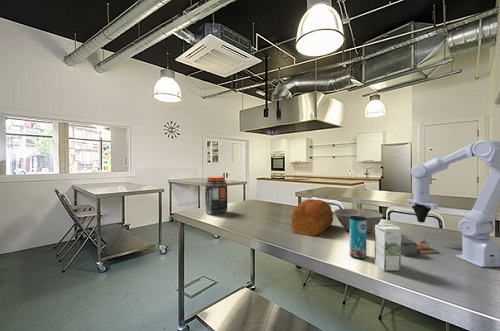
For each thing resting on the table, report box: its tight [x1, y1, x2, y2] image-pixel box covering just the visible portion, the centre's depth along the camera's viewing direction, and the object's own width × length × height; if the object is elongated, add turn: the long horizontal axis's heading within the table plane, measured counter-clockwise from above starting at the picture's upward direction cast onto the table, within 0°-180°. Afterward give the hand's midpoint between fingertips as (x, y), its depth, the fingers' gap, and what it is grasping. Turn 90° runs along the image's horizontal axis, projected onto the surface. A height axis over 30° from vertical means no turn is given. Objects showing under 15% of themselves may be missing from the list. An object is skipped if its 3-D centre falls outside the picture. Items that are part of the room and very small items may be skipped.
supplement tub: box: [204, 176, 228, 216], centre depth 167 cm, size 16×16×26 cm
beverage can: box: [349, 216, 368, 260], centre depth 90 cm, size 6×6×15 cm
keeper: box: [401, 236, 418, 257], centre depth 94 cm, size 8×5×5 cm, turn 4°
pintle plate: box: [417, 246, 439, 255], centre depth 96 cm, size 7×7×1 cm
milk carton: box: [374, 223, 402, 272], centre depth 80 cm, size 6×6×14 cm
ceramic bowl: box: [333, 208, 384, 233], centre depth 122 cm, size 22×23×10 cm
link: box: [414, 238, 430, 249], centre depth 96 cm, size 14×4×3 cm, turn 91°
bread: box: [290, 198, 334, 237], centre depth 128 cm, size 16×27×16 cm, turn 144°
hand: (421, 222), depth 104 cm, fingers closed
